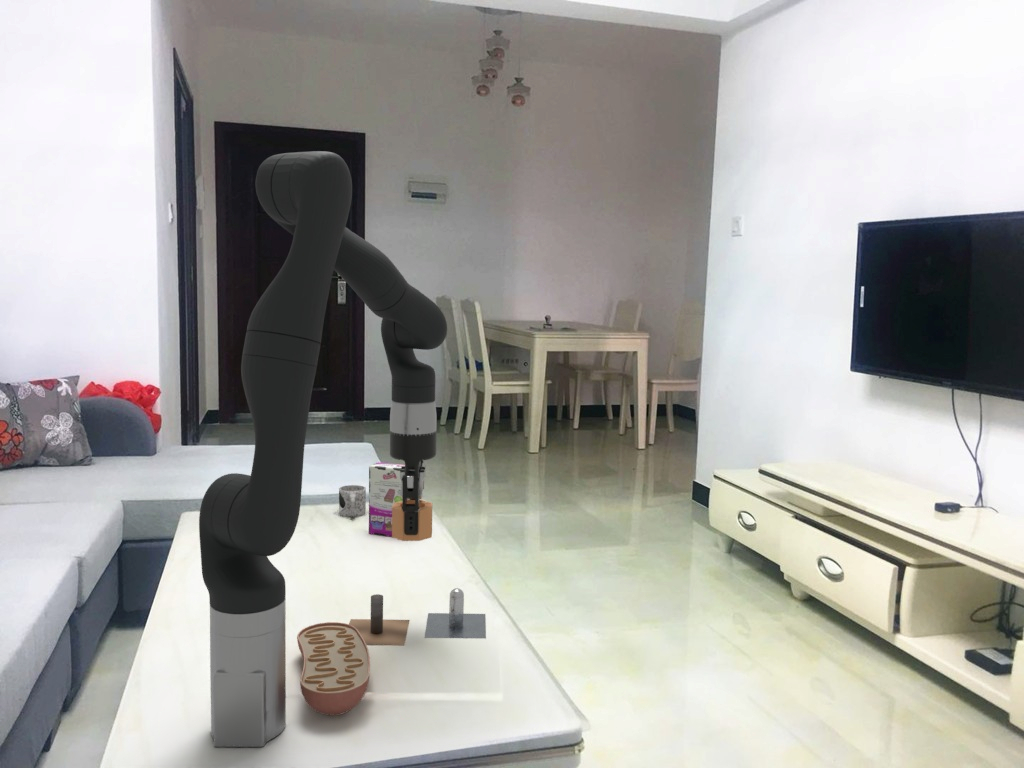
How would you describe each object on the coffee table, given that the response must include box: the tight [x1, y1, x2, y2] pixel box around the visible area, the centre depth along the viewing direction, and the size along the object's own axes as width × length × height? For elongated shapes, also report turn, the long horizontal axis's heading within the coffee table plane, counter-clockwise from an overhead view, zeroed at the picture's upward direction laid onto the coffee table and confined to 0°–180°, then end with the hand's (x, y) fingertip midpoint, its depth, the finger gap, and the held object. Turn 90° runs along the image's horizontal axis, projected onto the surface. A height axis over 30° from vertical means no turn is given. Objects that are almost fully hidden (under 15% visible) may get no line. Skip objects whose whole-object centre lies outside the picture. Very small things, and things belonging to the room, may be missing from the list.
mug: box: [338, 484, 367, 518], centre depth 204 cm, size 10×7×7 cm, turn 12°
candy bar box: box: [368, 462, 421, 538], centre depth 189 cm, size 11×5×16 cm, turn 73°
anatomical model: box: [296, 621, 371, 716], centre depth 117 cm, size 23×10×5 cm, turn 16°
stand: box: [348, 593, 411, 647], centre depth 133 cm, size 10×10×7 cm
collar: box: [391, 499, 433, 542], centre depth 133 cm, size 6×6×5 cm
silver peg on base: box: [424, 587, 487, 639], centre depth 137 cm, size 10×10×7 cm
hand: (412, 527), depth 134 cm, fingers closed on collar, 6 cm apart
